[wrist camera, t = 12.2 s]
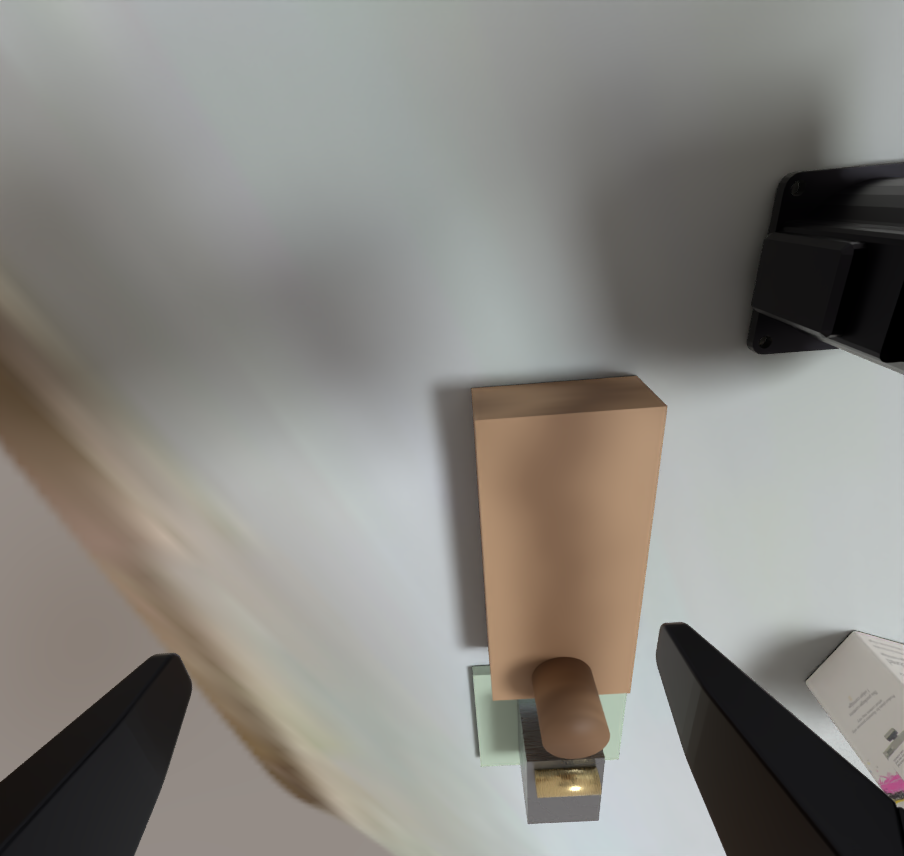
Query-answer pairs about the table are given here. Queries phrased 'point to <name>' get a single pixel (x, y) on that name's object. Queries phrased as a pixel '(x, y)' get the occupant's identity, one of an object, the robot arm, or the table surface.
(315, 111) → the table surface
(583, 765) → the lever cap
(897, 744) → the ink cartridge box
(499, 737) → the mat
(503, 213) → the table surface
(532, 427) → the body
